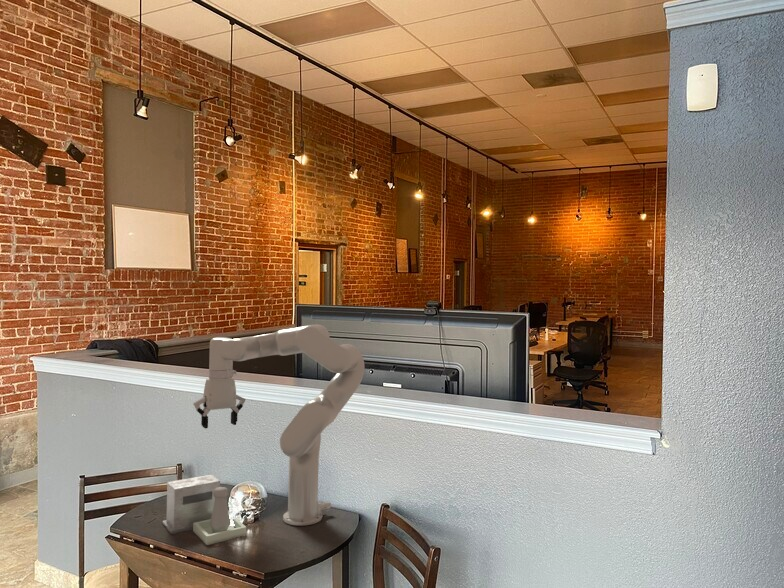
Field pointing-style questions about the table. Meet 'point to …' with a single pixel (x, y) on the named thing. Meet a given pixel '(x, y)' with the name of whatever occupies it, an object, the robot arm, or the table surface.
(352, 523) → the table surface
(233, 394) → the robot arm
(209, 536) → the tray
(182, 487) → the unit
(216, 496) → the salt shaker
